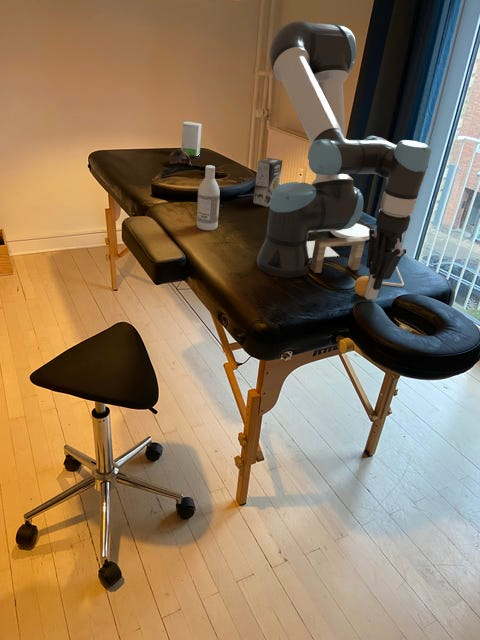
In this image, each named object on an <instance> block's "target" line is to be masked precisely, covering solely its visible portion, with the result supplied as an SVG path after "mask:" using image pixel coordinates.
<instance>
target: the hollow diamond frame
mask: <svg viewBox="0 0 480 640" xmlns="http://www.w3.org/2000/svg"><path fill="white" fill-rule="evenodd" d="M371 263H372V262H371ZM395 271H396V274H397V276H398V280H400V283H394V282H387V281H382V285H384V286H389V287H391V286H392V287H399V288H403V287H404V285H405V283H404V280H403V278H402V275H401V273H400V271H399V267H398V265H397V266H396V268H395ZM382 285H381V286H382Z"/></svg>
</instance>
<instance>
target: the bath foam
mask: <svg viewBox="0 0 480 640" xmlns="http://www.w3.org/2000/svg"><path fill="white" fill-rule="evenodd" d="M215 170H216V167H215V165H211V164H209V165H208V164H207V165H206V166H205V175H204V176H205V177H204V178H203V180H202V181H201V183H200V184H199V187H198V189H197V190H198V191H197V209H196V210H197V212H196V227H197V228H198V229H199V230H203V231H215V230H216V229H217V228H218V226H219V225H218V223H219V210H220V196H221V195H220V194H221V193H220V192H221V191H220V187H219V184H218V182H217V180H216V178H215V175H216V174H215V173H216V171H215Z"/></svg>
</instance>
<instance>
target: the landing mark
mask: <svg viewBox="0 0 480 640" xmlns="http://www.w3.org/2000/svg"><path fill="white" fill-rule="evenodd" d="M314 245H315V240H311V241H310V240H309V241H308V240H307V249H308V255H309V259H312V256H313V250H314ZM337 256H338V257H340V255H339V254H338V253H337V252H336V251H335V250H334V249H332V247H326V249H325V254H324V258H334V257H335V258H336V257H337ZM338 257H337V258H338Z"/></svg>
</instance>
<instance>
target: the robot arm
mask: <svg viewBox="0 0 480 640" xmlns="http://www.w3.org/2000/svg"><path fill="white" fill-rule="evenodd" d="M268 52H269V54H268V56H269V57H268V58H269V64H270V68H271V71H272V73H273V75H274V77H275V78H276V80H277V81H279V82H281V83H282V85H283V88H284V89H285V90H286V93H287V95H288V97H289V100H290V101H291V103H292V106H293V108H294V111H295V112H296V115H297V116H298V119H299V121H300V123H301V124H302V127H303V129H304V131H305V133H306V136H307V138H308V141H309V143H310V147H309V148H308V152H307V159H308V167H309V169H310V170H311V172H312V173H314V174H315V179H314V180H313V181H312V182H311V183H307V182H298V181H293V182H292V181H291V182H290V181H289V182H285V183H282V184H279V186H277V187H276V188H275V189H274V190H273V192H272V196H271V201H270V204H269V206H268V207H269V209H268V210H269V211H268V218H267V227H266V235H265V239H264V242H263V244H262V245H261V248H260V250H259V253H258V254H257V257H256V266H257V268H258V269H260V271H263V273H265V274H268V275H271V276H273V277H279V278H288V279H289V278H290V279H291V278H298V277H302V276H304V275H306V274H307V273H308V272H309V270H310V269H309V268H310V265H311V262H310V258H309V255H308V249H307V241H308V239H309V234H310V233H316V232H317V233H318V232H330V231H332V230H335V231H338V230H342V229H349V228H351V227H353V226H354V225H355V224H356V223H357V224H358V221H359V220H360V218H361V216H362V214H363V210H364V196H363V194H362V193H361V191H360V189H359V188H357V187H355V186H354V179H353V178H352V177H351V176H350V175H372V174H375V175H377V176H379V177H381V178H383V179H385V180H386V184H385V187H384V191H383V193H382V197H381V201H380V204H379V207H380V209H378V213H377V215H376V220H375V225H376V228H369V229H370V230H369V240H368V247H367V255H366V256H367V257H366V265H365V266H366V268H367V269H369V271H368V272H369V275H368V276H369V279H368V286H367V289H366V293H365V296H364V298H365V299H366V300H375V299H377V297H378V293H379V292H380V290H381V287H382V282H384V280H390V279H391V278H392V275H393V274H394V272H395V271H396V269H395V268H396V266H397V267H398V264H399V263H400V261H401V259H402V257H403V256H405V254H407V249H406V248H403V247H402V244H401V243H403V234H404V233H405V232H406V231H408V229H409V225H410V223H411V219H412V216H411V215H412V214H413V213H414V210H415V207H416V203H417V199H418V196H419V194H420V190H421V188H422V184H423V181H424V178H425V175H426V172H427V170H428V168H429V162H430V158H431V154H432V149H431V147H430V146H429V144H427V143H424V142H419V141H417V140H411V139H410V140H409V139H408V140H407V139H403V140H400V141H398V143H397V144H395V143H394V142H390V141H388V140H387V139H385V138H383V137H379V136H375V135H369V136H367V137H365V138H364V139H361V140H360V139H347V138H346V121H345V120H346V119H345V117H346V116H345V102H344V101H345V99H344V97H345V96H344V83H345V82H346V80H347V79H348V78H349V73H350V72H351V70H353V67H354V66H355V63H356V62H355V59H357V43H356V38H355V35H354V34H353V32H352V31H351V29H349V28H347V27H346V26H344V25H338V24H336V23H330V24H329V23H319V22H311V21H310V22H309V21H304V20H295V21H294V20H293V21H291V22H289V23H286V24H285V25H283V26H282V27H280V29H279V30H278V31H277V32H276V33H275V34H274V36H273V38H272V40H271V43H270V47H269V51H268ZM371 262H372V263H371Z"/></svg>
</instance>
